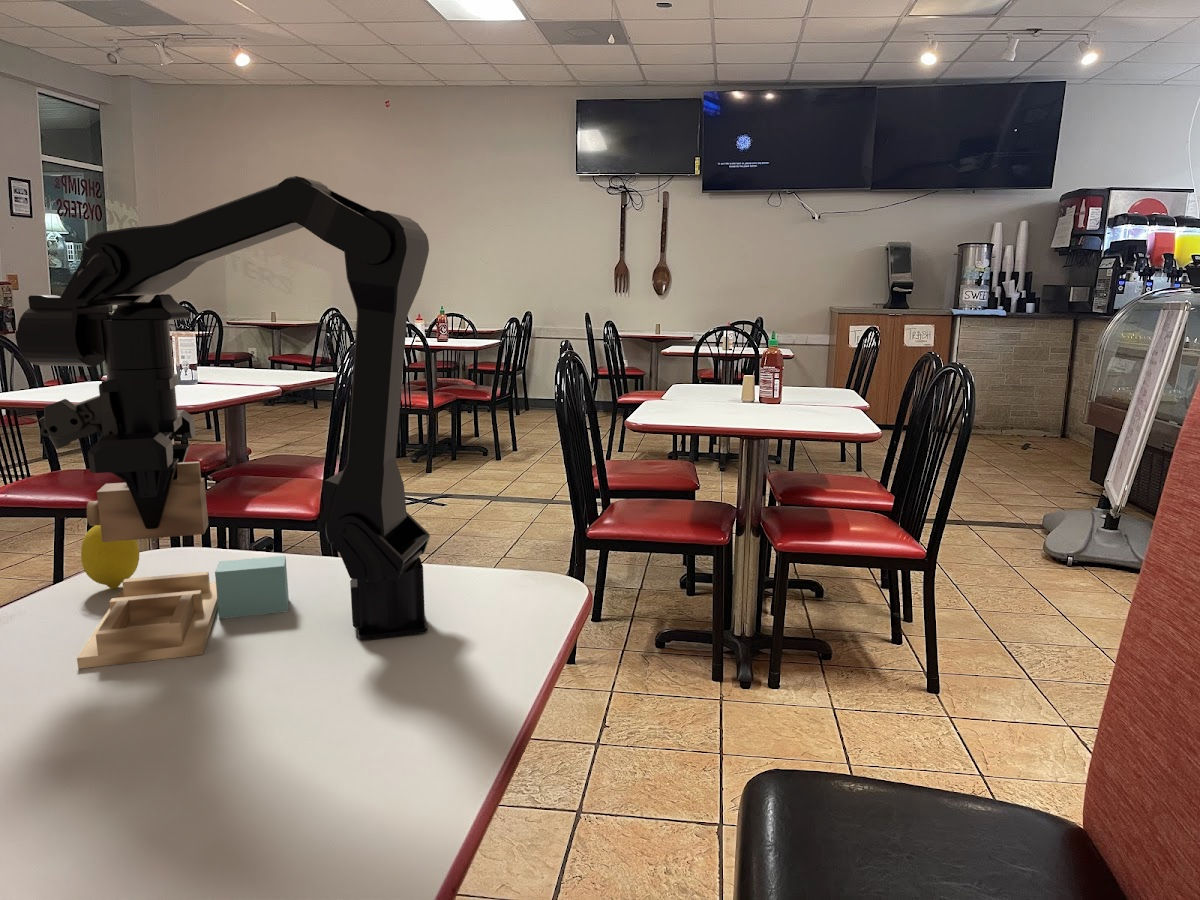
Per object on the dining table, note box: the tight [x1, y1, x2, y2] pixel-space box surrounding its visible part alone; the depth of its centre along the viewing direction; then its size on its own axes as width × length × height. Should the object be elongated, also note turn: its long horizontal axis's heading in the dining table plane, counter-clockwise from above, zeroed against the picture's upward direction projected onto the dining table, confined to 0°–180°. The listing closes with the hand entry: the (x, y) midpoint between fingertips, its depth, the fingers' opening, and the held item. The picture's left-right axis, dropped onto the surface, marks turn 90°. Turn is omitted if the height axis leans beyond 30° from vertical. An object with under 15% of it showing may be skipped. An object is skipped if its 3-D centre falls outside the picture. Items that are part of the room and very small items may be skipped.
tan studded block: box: [86, 461, 210, 542], centre depth 84 cm, size 10×4×7 cm, turn 108°
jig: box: [76, 571, 218, 670], centre depth 84 cm, size 10×17×3 cm, turn 18°
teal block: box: [214, 555, 290, 619], centre depth 88 cm, size 4×6×5 cm, turn 108°
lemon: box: [80, 525, 140, 590], centre depth 93 cm, size 6×6×8 cm
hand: (156, 523), depth 85 cm, fingers closed on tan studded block, 3 cm apart
